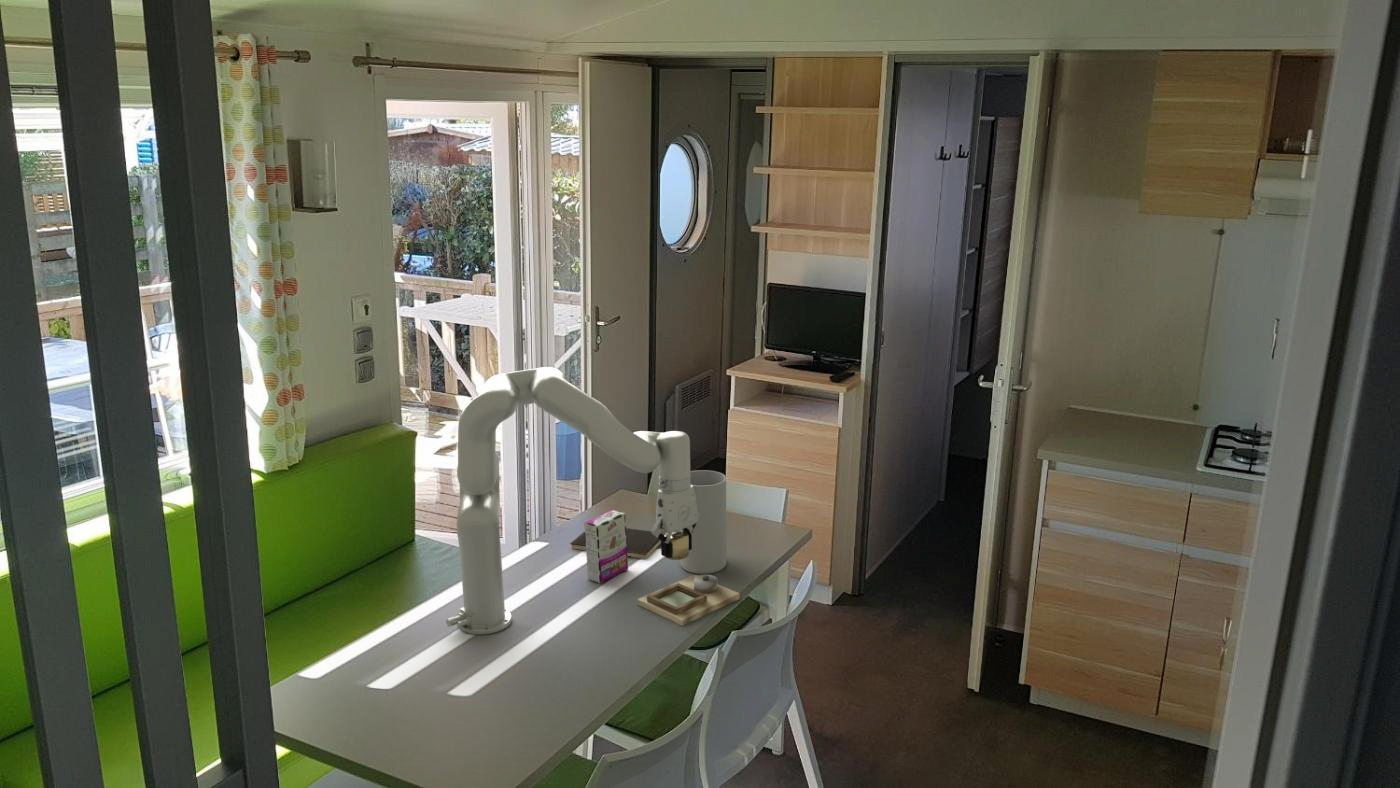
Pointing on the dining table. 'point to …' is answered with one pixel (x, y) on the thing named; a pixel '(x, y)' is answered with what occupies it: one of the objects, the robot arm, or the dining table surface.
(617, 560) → the candy bar box
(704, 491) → the cylinder vase
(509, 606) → the dining table surface
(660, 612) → the carrier
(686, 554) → the gold round vessel
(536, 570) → the dining table surface
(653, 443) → the robot arm
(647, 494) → the dining table surface
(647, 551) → the hardcover book
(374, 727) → the dining table surface
